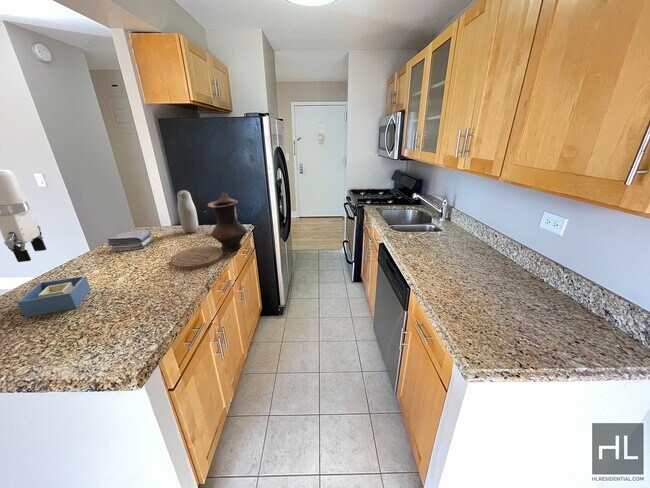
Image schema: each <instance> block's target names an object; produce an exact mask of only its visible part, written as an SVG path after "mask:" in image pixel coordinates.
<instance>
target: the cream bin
mask: <svg viewBox="0 0 650 488" xmlns="http://www.w3.org/2000/svg"><path fill="white" fill-rule="evenodd" d="M72 288H73V286H72V283H65V284H58V285H52V286H48V287H47V288H45V289H44V290H43V291H42V292H41V293H40V294H39V295H38V297H39V298H41V297H47V296H53V295H59V294H65V293H69V292H70V291H71V290H72Z"/></svg>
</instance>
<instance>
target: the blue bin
mask: <svg viewBox="0 0 650 488" xmlns="http://www.w3.org/2000/svg"><path fill="white" fill-rule="evenodd" d="M65 283H72V286H73V288H72V290H71V291H70V292H69V293H65V294H59V295H53V296H47V297H41V298H39V297H38V295H39V294H40V293H41V292H42V291H43V290H44V289H45V288H47V287H48V286H52V285H58V284H65ZM91 290H92V288H91V285H90V283H89V280H88V278H87V276H86V275H82V276H73V277H69V278H68V277H67V278H62V279H55V280H49V281H41V282H39V283H37V285H36V286H34V287H33V288H31V290H29V291H28V292H27V293H26V294H25V295H24V296H23V297H21V298H20V299H19V300H18V301H17V302H16V304H17V305H18V307H19V309H20V311H21V313H22V315H23V316H24V318H25V319H29V318H34V317H38V316H43V315H49V314H54V313H59V312H66V311H70V310H75V309H77V308H78V307H79V306H80V305H81V303H82V302H83V301H84V299H85V298H86V297H87V296H88V294H89V293H90V292H91Z"/></svg>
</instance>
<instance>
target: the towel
mask: <svg viewBox="0 0 650 488" xmlns="http://www.w3.org/2000/svg"><path fill="white" fill-rule="evenodd" d="M151 235H152V232H151V231H150V230H148V229H147V230H146V229H140V230H135V231H130V232H121V233H118V234H117V235H115V236H114V237H107V246H110V247H109V249H108V252H109V253H115V252H126V251H127V252H128V251H136V250H141V249H144V247H145V246H147V245H148V244H150V242H152V241H153V240H154V239H153V237H152V236H151Z"/></svg>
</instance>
